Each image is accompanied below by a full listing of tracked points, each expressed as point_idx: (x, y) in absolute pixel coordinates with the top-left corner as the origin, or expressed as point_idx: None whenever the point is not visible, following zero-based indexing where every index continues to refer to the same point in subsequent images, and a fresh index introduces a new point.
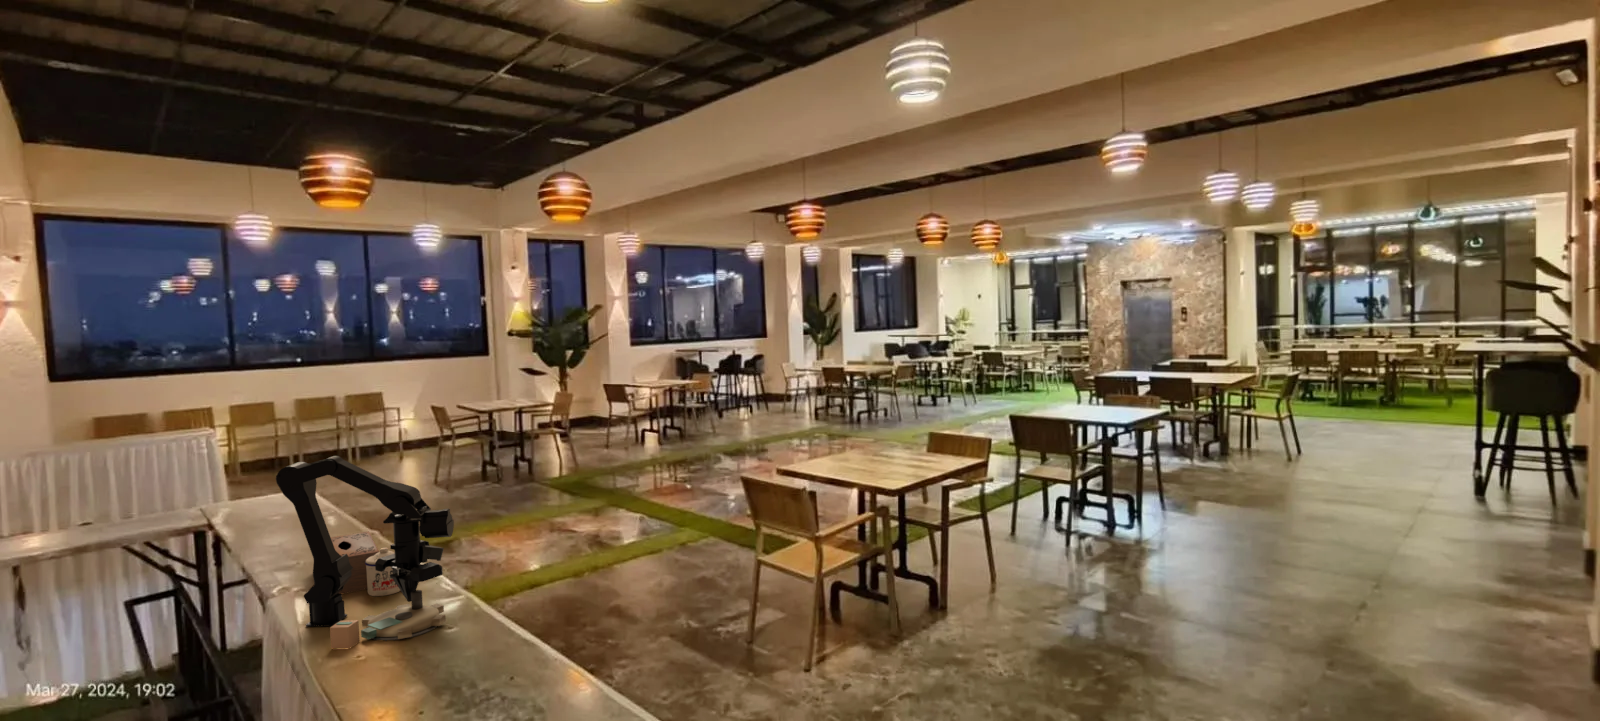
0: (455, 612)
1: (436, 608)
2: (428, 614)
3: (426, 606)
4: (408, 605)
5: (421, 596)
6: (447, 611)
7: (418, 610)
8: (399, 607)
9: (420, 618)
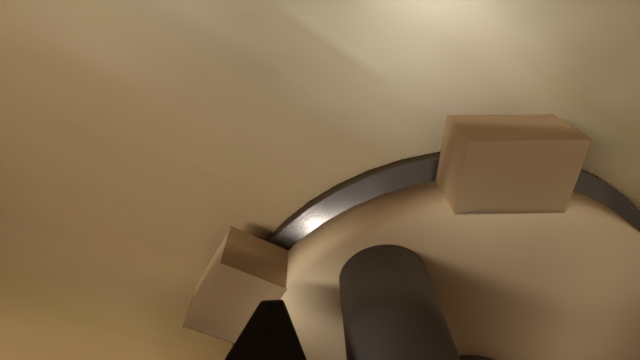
0: (611, 12)
1: (575, 215)
2: (602, 305)
3: (435, 229)
4: (256, 283)
5: (456, 352)
6: (509, 37)
7: (450, 301)
8: (240, 331)
9: (594, 357)
